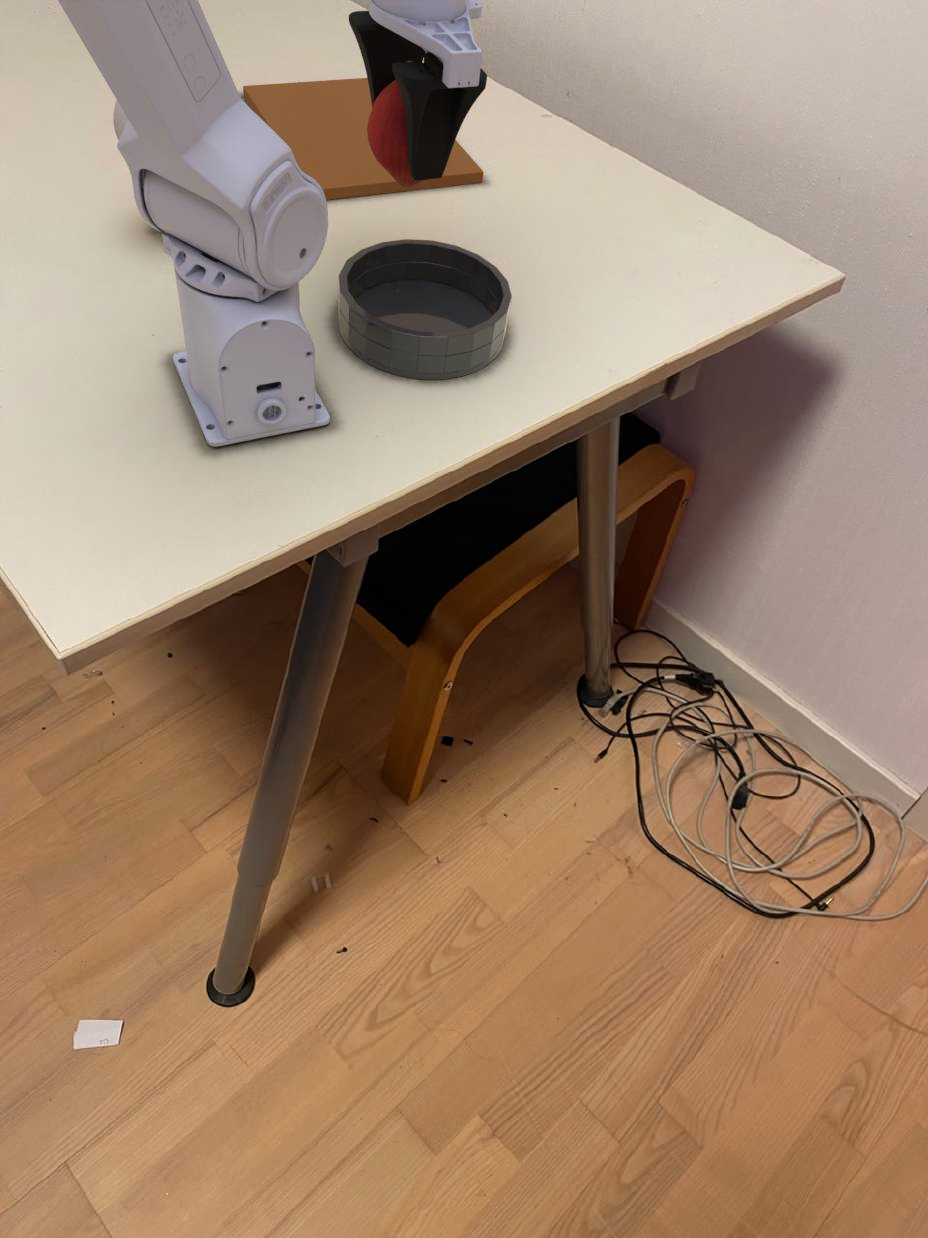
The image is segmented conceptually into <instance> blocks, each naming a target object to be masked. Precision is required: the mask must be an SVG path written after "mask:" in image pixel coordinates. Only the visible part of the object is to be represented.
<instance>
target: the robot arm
mask: <svg viewBox="0 0 928 1238" xmlns="http://www.w3.org/2000/svg"><path fill="white" fill-rule="evenodd" d="M57 2H58V3H59V5H60V6H61V8H62V10H63V12H64V14H65V15H66V16H67V18H68V19H69V22H70V23H71V25H72V27H73V28H74V30H75V32H76V33H77V36H78V37H79V39H80V40H81V42H82V43H83V45H84V47H85V48H86V50H87V52H88V54H89V55H90V57H91V60H93V62H94V64H95V66H96V67H97V69H98V71H99V72H100V74H101V76H102V77H103V79H104V81H105V83H106V84H107V86H108V87H109V89H110V91H111V93H112V94H113V96H114V97H115V99H116V101H118V103H119V104H120V106H121V108H122V109H123V111H124V113H125V114H126V116H127V118H128V122H127V124H126V126H125V128H124V130H123V132H122V135H121V137H120V139H119V141H117V145H116V147H117V150H118V152H119V153H120V155H121V156H122V158H123V160H124V161H125V163H126V165H127V167H128V170H129V173H130V176H131V181H132V189H133V196H134V201H135V204H136V207H137V210H138V212H139V214H140V216H141V217H142V218H143V219H144V221H145V222H146V224H148V225H149V226H150V227H151V228H153V229H154V230H156V231H158V232H160V233H161V236H162V244H163V250H164V253H165V254H167V255H168V256H169V257H170V258H171V259H172V261H173V268H174V276H175V281H176V282H175V283H176V289H177V295H178V296H177V297H178V302H179V311H180V317H181V322H182V323H181V325H182V331H183V337H184V345H185V350H184V351H179V352H176V353H174V354H173V356H172V361H173V364H174V367H175V369H176V371H177V374H178V377H179V379H180V381H181V384H182V385H183V388H184V391H185V393H186V396H187V397H188V400H189V403H190V405H191V408H192V410H193V412H194V415H195V417H196V420H197V421H198V424H199V427H200V429H201V432H202V433H203V436H204V439H205V441H206V443H207V445H208V446H210V447H213V448H214V447H215V448H218V447H221V446H227V445H233V444H237V443H238V444H239V443H243V442H247V441H252V440H257V439H262V438H267V437H273V436H277V435H282V434H288V433H292V432H296V431H302V430H309V429H313V428H318V427H323V426H327V425H328V424H329V423H330V422H331V415H330V413H329V411H328V410H327V408H326V405H325V404H324V402H323V400H322V398H321V396H320V395H319V393H318V391H317V389H316V350H315V349H316V348H315V344H314V340H313V338H312V335H311V334H310V331H309V329H308V328H307V326H306V324H305V323H306V322H305V321H304V319H303V316H302V314H301V309H300V307H301V306H300V282H301V281H302V280H303V279H304V278H305V277H306V276H307V275H308V274H309V273H310V272H311V271H312V269H313V268H314V267H315V265H316V264H317V262H318V261H319V258H320V257H321V255H322V253H323V250H324V247H325V243H326V240H327V235H328V229H329V208H328V207H329V206H328V201H327V200H326V197H325V194H324V192H323V190H322V188H321V186H320V185H319V184H318V183H317V182H316V180H314V179H313V178H311V177H310V176H308V175H306V174H305V173H304V172H303V171H302V170H301V169H300V167H299V166H298V164H297V162H296V160H295V157H294V155H293V153H292V150H291V148H290V147H289V146H288V145H287V144H286V143H285V142H284V141H283V140H282V139H281V138H280V137H279V136H278V135H277V134H276V133H275V132H274V131H273V130H272V129H271V128H270V127H269V126H268V125H267V124H266V123H265V122H264V121H263V120H262V119H261V118H260V117H259V116H258V115H257V114H256V113H255V112H254V111H253V110H252V108H251V107H250V105H249V104H248V103H246V102H245V101H244V100H243V99H242V97H241V96H240V93H239V91H238V89H237V86H236V84H235V81H234V80H233V77H232V75H231V73H230V70H229V68H228V66H227V64H226V61H225V58H224V56H223V54H222V52H221V49H220V47H219V45H218V44H217V41H216V38H215V36H214V34H213V31H212V29H211V27H210V25H209V22H208V20H207V18H206V15H205V13H204V11H203V8H202V5H201V4H200V2H199V0H57ZM367 5H368V10H356V11H351V13H349V14H348V24H349V26H350V28H351V30H352V33H353V35H354V37H355V40H356V42H357V45H358V48H359V51H360V54H361V58H362V61H363V65H364V69H365V73H366V78H368V84H369V89H370V95H371V102H372V108H373V105H374V103H375V101H376V99H377V97H378V96H379V94H380V93H381V92H382V91H383V90H384V89H385V88H386V87H387V86H388V85H389V84H391V83H392V82H393V81H395V80H396V81H397V84H398V86H399V89H400V93H401V97H402V100H403V105H404V111H405V117H406V126H407V148H408V163H409V169H410V173H411V176H412V177H413V179H414V180H416V181H417V180H427V179H436V178H441V177H442V176H443V173H444V170H445V168H446V165H447V162H448V159H449V156H450V154H451V151H452V148H453V145H454V142H455V140H457V136H458V134H459V132H460V129H461V127H462V125H463V123H464V121H465V119H466V117H467V115H468V114H469V112H470V110H471V109H472V107H473V105H474V104H475V103H476V101H477V99H478V98H479V97H480V96H481V94H482V93H483V92H484V91H485V90H486V87H487V83H488V82H487V81H488V74H487V73H486V72H485V70H483V69H482V60H483V50H482V49H481V48H480V46H478V44H477V42H476V39H475V35H474V31H473V25H472V20H476V19H480V18H481V17H482V11H483V4H482V3H481V2H480V1H479V0H368V3H367ZM407 61H413V62H407ZM247 104H248V105H247Z"/></svg>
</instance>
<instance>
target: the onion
mask: <svg viewBox="0 0 928 1238" xmlns="http://www.w3.org/2000/svg"><path fill="white" fill-rule="evenodd" d="M407 62H413V61H407ZM367 133H368V141H369V144H370V147H371V150H372V152H373V154H374V156H375V158H376V160H377V161H378V162H379V163H380V164H381V165H382V166H383V168H384V169H385V170H386V171H387V172H388V173H389V174H390V175H391V176H392V177H393V178H394V179H395V180H396V181H397V183H398V184H400V185H401V186H403V187H411V186H413V185H416V184H418V183H420V182H422V181H424V180H417V181H416V180H414V179H413V177H412V176H411V173H410V169H409V163H408V148H407V126H406V117H405V111H404V105H403V100H402V97H401V93H400V89H399V86H398V84H397V81H396V80H395V81H393V82H392V83H391V84H389V85H388V86H387V87H386V88H385V89H384V90H383V91H382V92H381V93H380V94H379V96H378V97H377V99H376V101H375V103H374V105H373V108H372V110H371V113H370V116H369V120H368V126H367Z"/></svg>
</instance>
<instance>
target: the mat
mask: <svg viewBox="0 0 928 1238" xmlns="http://www.w3.org/2000/svg"><path fill="white" fill-rule="evenodd" d="M242 92H243V98H244V99H245V101H246V102H247V104H248V106H249V107H250V108H251V109H252V110H253V111H254V112H255V113H256V114H257V115H258V116H259V117H260V118H261V119H262V120H263V121H264V122H265V123H266V124H267V125H268V126H269V127H270V128H271V129H272V130H273V131H274V132H275V133H276V134H277V135H278V136H279V137H280V138H281V139H282V140H283V141H284V142H285V143H286V144H287V145H288V146H289V147H290V148H291V150H292V153H293V155H294V157H295V160H296V162H297V164H298V166H299V167H300V169H301V170H302V171H303V172H304V173H305V174H306V175H308V176H310V177H311V178H313V179H314V180H316V182H317V183H318V184H319V185H320V186H321V188H322V190H323V192H324V194H325V197H326V201H328V200H338V199H346V198H355V197H364V196H373V195H374V196H375V195H382V194H391V193H398V192H406V191H407V192H408V191H416V190H417V191H418V190H426V189H427V190H428V189H435V188H442V187H443V188H445V187H453V186H461V185H470V184H478V183H479V184H480V183H483V179H484V170H483V169H482V168H481V167H480V166H479V164H478V163H477V162H476V161H475V160H474V159H473V158H472V157H471V155H470V154H469V153H468V152H467V151H466V150H465V149H464V148H463V146H462V145H461V144H460V142H459V141H457V139H455V142H454V145H453V148H452V151H451V154H450V156H449V159H448V162H447V165H446V168H445V170H444V173H443V176H442V177H441V178H436V179H427V180H424V181H422V182H420V183H418V184H416V185H413V186H411V187H403V186H401V185H400V184H398V183H397V181H396V180H395V179H394V178H393V177H392V176H391V175H390V174H389V173H388V172H387V171H386V170H385V169H384V168H383V166H382V165H381V164H380V163H379V162H378V161H377V160H376V158H375V156H374V154H373V152H372V150H371V147H370V144H369V141H368V133H367V126H368V120H369V116H370V113H371V110H372V102H371V95H370V89H369V84H368V78H367V77H358V78H343V79H327V80H313V81H311V80H310V81H296V82H295V81H294V82H283V83H282V82H280V83H266V84H265V83H264V84H253V85H243V86H242Z"/></svg>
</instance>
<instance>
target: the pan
mask: <svg viewBox="0 0 928 1238" xmlns="http://www.w3.org/2000/svg"><path fill="white" fill-rule="evenodd" d="M337 298H338V301H337V302H338V303H337V304H338V305H337V307H338V329H339V333H340V336H341V339H342V340H343V342H344V343H345V344H346V346H347V347H348V349H350V351H351V352H353V354H355V355H356V356H357V357H358V358H359V359H361V360H362V361H364V362H365V363H367V364H368V365H370V366H373V367H374V368H377V370H378V369H379V370H381V371H384V372H387V373H389V374H393V375H396V376H399V377H404V378H410V379H417V380H432V381H433V380H434V381H435V380H449V379H454V378H456V379H457V378H460V377H464V376H467V375H470V374H473V373H475V372H478V371H480V370H481V369H483V368H485V367H486V366H489V364H490V363H492V362H493V361H494V360H495V359H496V358H497V356H498V355H499V353H500V352H501V350H502V348H503V345H504V340H505V336H506V333H507V327H508V322H509V316H510V310H511V304H512V298H513V296H512V291H511V288H510V284H509V281H508V279H507V278H506V277H505V276H504V274H503V273H502V272H501V270H499V268H498V267H497V266H496V265H495V264H493V263H492V262H490V261H488V260H487V259H486V258H484V257H482V256H481V255H480V254H477V253H475V252H474V251H471V250H469V249H468V250H467V248H463V247H460V246H459V245H455V244H451V243H447V242H446V243H445V242H441V241H437V240H433V239H432V240H431V239H414V238H413V239H412V238H411V239H410V238H406V239H405V238H403V239H397V240H390V241H389V240H388V241H381V242H378V243H375V244H372V245H369V246H368V247H365V248H362V249H360V250H358V251H357V252H356V253H354V254H353V255H352V256H350V257H349V258H348V259H347V260H345V262H344V265H343V266H342V268H341V270H340V272H339V273H338V297H337Z"/></svg>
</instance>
